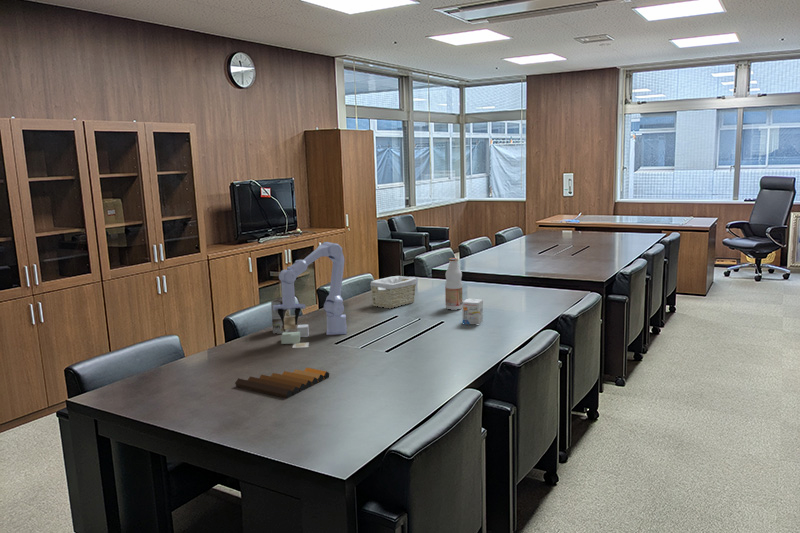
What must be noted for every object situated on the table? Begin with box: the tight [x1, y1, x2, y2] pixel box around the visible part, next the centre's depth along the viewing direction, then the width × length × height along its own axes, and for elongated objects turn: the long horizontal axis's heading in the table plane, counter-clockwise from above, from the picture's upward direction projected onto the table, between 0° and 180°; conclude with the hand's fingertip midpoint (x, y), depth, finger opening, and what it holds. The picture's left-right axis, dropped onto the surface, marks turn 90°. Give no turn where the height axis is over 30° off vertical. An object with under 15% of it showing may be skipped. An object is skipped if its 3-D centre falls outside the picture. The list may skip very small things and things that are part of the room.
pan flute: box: [234, 367, 330, 399], centre depth 235 cm, size 25×3×25 cm
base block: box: [280, 331, 301, 345], centre depth 287 cm, size 8×8×4 cm
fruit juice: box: [444, 257, 463, 311], centre depth 340 cm, size 9×9×28 cm
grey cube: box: [296, 323, 310, 338], centre depth 296 cm, size 5×5×5 cm
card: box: [292, 342, 310, 349], centre depth 281 cm, size 7×7×1 cm
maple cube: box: [284, 315, 297, 330], centre depth 285 cm, size 5×5×5 cm
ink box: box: [461, 298, 484, 325], centre depth 311 cm, size 9×8×12 cm
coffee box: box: [270, 297, 291, 335], centre depth 304 cm, size 9×6×16 cm
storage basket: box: [370, 275, 417, 310], centre depth 355 cm, size 24×16×15 cm
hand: (290, 324), depth 286 cm, fingers closed on maple cube, 5 cm apart
